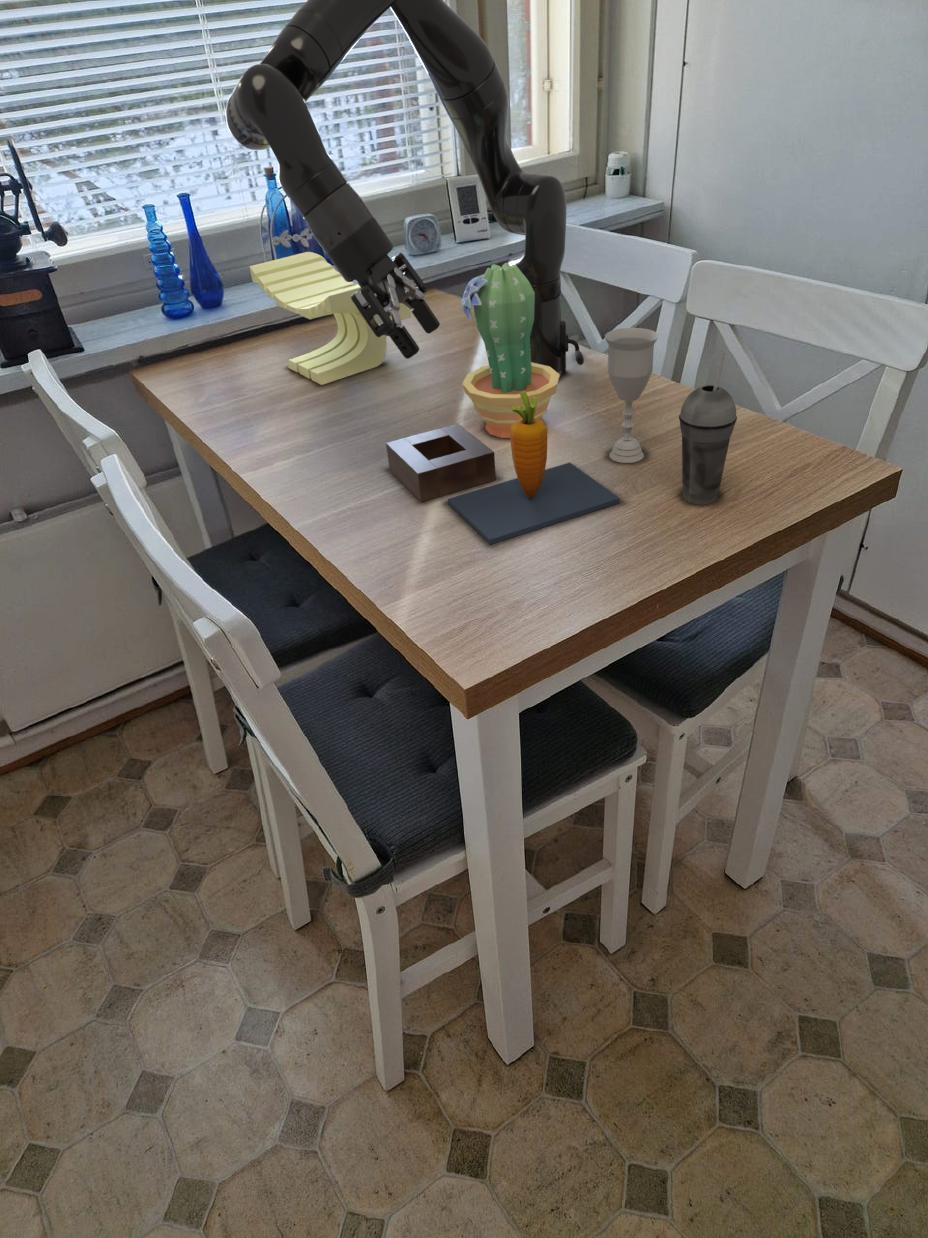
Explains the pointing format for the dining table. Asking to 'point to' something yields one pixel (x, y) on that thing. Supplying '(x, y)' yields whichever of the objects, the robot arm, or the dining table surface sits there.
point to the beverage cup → (705, 439)
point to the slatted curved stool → (318, 293)
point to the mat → (531, 503)
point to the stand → (441, 462)
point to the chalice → (629, 380)
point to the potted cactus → (505, 349)
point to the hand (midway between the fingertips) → (424, 341)
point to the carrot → (529, 446)
